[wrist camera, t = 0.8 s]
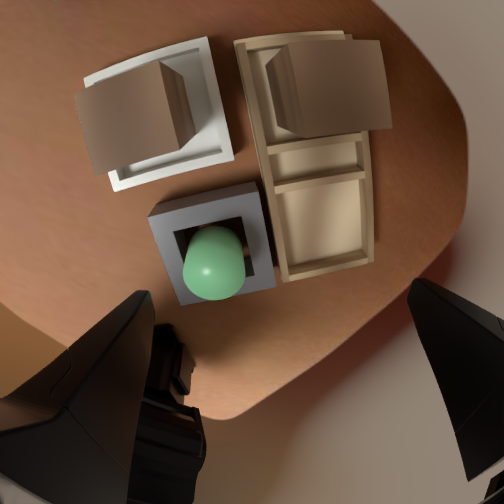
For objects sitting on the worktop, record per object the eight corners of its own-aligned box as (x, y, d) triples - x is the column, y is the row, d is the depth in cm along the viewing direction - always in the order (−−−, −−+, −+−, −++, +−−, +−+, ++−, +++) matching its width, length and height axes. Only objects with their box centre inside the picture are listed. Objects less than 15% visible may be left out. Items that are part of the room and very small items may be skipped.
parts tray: (121, 185, 19) (114, 192, 18) (93, 79, 15) (83, 78, 14) (233, 155, 19) (234, 160, 17) (208, 41, 15) (206, 36, 14)
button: (196, 278, 21) (193, 304, 18) (181, 232, 19) (174, 254, 16) (247, 268, 21) (250, 293, 18) (236, 220, 19) (237, 240, 16)
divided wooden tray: (279, 272, 23) (284, 288, 21) (233, 43, 15) (234, 36, 13) (362, 253, 23) (373, 267, 21) (337, 33, 15) (350, 27, 13)
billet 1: (137, 151, 18) (95, 176, 12) (123, 95, 16) (73, 93, 10) (196, 134, 18) (179, 150, 11) (182, 76, 16) (158, 60, 10)
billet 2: (277, 126, 17) (305, 138, 11) (264, 65, 15) (287, 42, 9) (337, 117, 17) (392, 128, 11) (327, 59, 15) (379, 40, 9)
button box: (184, 286, 23) (180, 306, 21) (155, 204, 20) (147, 217, 18) (271, 268, 23) (276, 287, 21) (254, 181, 20) (258, 191, 18)
